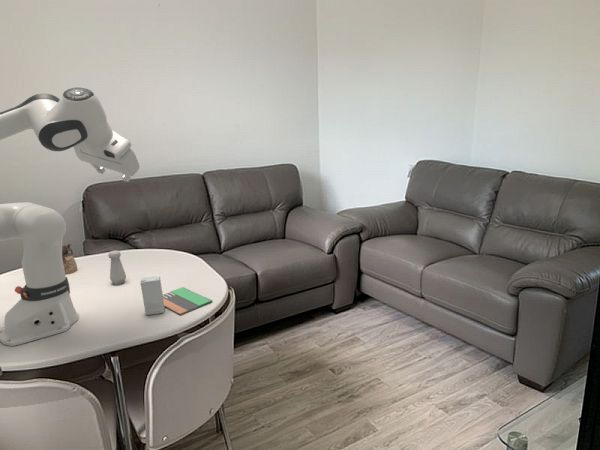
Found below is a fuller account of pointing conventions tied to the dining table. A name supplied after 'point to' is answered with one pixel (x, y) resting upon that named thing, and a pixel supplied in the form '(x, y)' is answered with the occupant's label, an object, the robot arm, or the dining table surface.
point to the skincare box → (152, 295)
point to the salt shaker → (116, 268)
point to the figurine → (68, 260)
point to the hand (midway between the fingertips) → (114, 176)
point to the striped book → (184, 301)
